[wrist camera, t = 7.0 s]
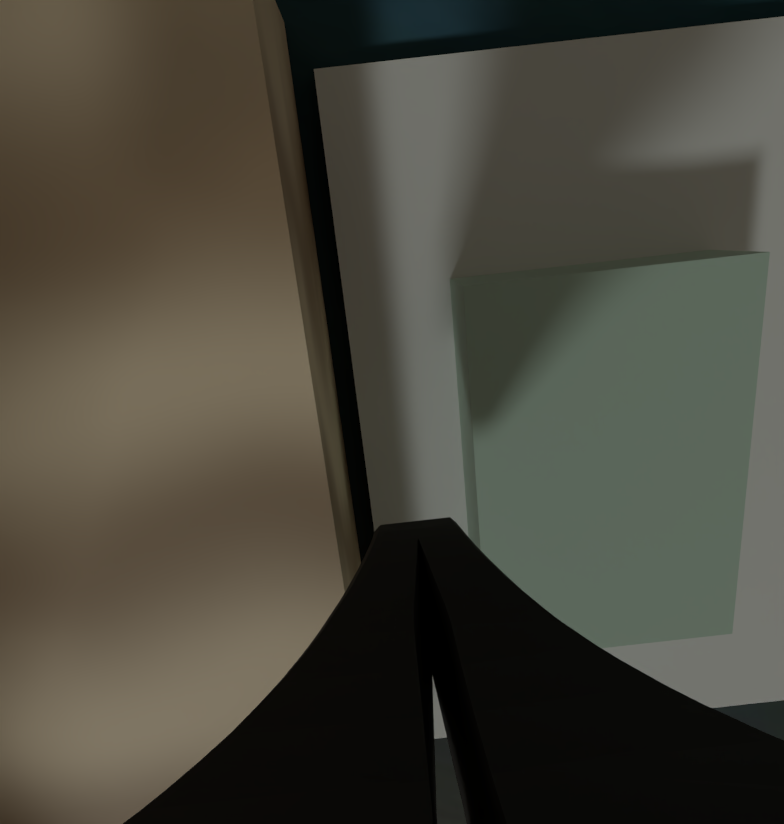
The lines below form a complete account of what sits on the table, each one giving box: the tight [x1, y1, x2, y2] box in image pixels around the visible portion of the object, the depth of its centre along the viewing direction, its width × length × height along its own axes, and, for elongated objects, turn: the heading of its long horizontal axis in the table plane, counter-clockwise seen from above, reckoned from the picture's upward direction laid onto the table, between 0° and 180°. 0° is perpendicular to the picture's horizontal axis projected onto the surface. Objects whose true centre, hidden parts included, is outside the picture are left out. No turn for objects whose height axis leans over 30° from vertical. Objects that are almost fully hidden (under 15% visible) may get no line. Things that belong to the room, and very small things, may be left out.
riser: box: [0, 0, 361, 824], centre depth 12 cm, size 20×12×4 cm, turn 6°
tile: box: [450, 250, 770, 648], centre depth 13 cm, size 9×6×2 cm, turn 6°
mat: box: [314, 16, 784, 739], centre depth 14 cm, size 18×14×1 cm
